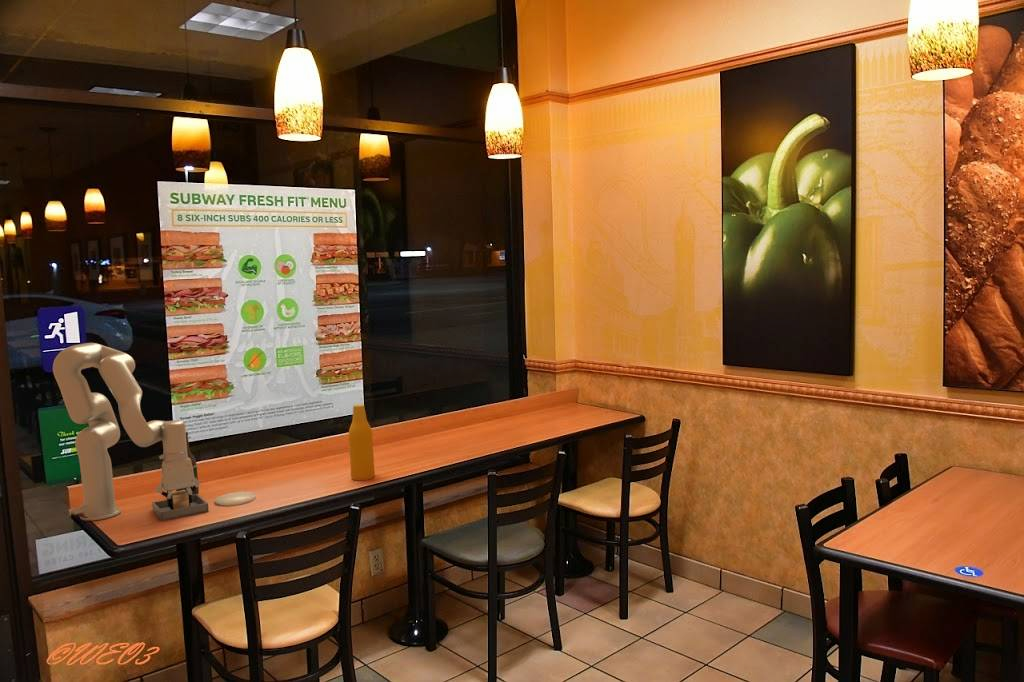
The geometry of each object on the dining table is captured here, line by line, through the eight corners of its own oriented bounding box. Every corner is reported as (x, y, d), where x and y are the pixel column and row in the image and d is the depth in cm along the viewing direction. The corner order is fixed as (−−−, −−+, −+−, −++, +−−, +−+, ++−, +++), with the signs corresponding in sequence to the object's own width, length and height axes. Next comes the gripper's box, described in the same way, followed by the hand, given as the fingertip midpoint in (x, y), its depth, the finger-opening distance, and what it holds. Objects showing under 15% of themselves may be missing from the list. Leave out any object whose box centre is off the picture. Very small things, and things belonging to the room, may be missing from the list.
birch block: (174, 512, 267) (172, 495, 266) (171, 509, 271) (169, 492, 271) (189, 509, 270) (188, 492, 269) (186, 506, 274) (184, 489, 273)
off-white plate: (221, 508, 272) (220, 505, 272) (210, 499, 283) (210, 496, 283) (260, 500, 280) (260, 497, 280) (249, 491, 291) (249, 489, 291)
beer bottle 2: (369, 481, 300) (365, 407, 297) (347, 480, 301) (342, 407, 299) (378, 474, 309) (374, 403, 306) (356, 474, 310) (352, 403, 308)
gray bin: (161, 521, 260) (161, 512, 260) (152, 510, 272) (151, 502, 272) (208, 511, 269) (207, 503, 268) (197, 501, 281) (197, 493, 281)
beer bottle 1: (175, 498, 286) (170, 435, 284) (178, 493, 293) (172, 431, 291) (197, 496, 288) (192, 433, 286) (200, 490, 296) (195, 429, 293)
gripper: (151, 462, 261) (156, 515, 262) (204, 453, 271) (208, 504, 272) (147, 458, 267) (151, 509, 269) (198, 450, 277) (202, 499, 278)
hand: (180, 506), depth 270 cm, fingers closed on birch block, 5 cm apart
